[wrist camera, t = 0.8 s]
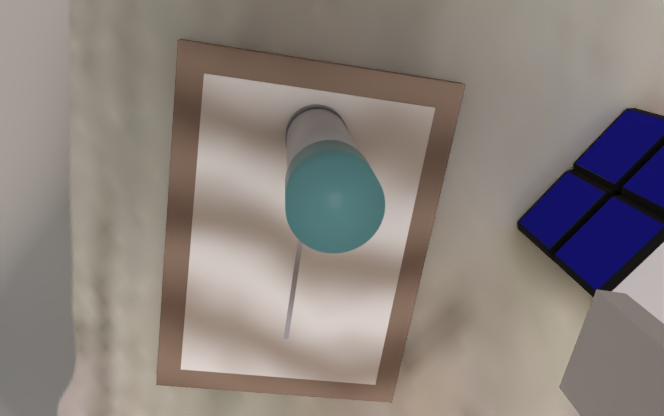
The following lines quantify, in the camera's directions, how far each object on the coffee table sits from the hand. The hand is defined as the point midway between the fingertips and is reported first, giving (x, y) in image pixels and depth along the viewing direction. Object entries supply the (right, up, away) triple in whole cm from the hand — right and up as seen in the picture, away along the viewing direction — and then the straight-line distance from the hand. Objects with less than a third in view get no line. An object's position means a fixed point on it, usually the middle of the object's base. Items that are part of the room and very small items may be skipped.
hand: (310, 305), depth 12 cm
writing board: (-2, 0, +22) cm, 22 cm away
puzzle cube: (+19, +2, +24) cm, 31 cm away
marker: (0, +6, +19) cm, 20 cm away
